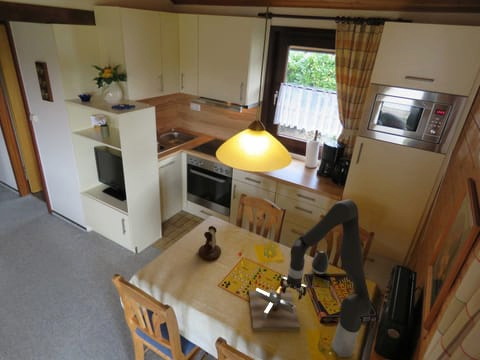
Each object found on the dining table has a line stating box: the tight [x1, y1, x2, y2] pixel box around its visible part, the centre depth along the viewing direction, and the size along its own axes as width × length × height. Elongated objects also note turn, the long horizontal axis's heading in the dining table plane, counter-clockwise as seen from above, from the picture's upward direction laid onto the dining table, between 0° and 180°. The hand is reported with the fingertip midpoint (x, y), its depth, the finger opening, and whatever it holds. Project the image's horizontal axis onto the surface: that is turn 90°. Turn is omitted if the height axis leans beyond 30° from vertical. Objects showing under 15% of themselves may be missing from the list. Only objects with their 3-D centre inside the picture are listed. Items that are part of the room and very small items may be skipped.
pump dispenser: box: [311, 249, 330, 275], centre depth 190 cm, size 10×10×15 cm
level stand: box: [248, 289, 302, 331], centre depth 164 cm, size 24×24×2 cm
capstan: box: [255, 286, 296, 319], centre depth 161 cm, size 22×22×8 cm
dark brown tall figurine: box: [198, 225, 222, 261], centre depth 197 cm, size 15×15×20 cm
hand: (291, 295), depth 166 cm, fingers open, 8 cm apart
